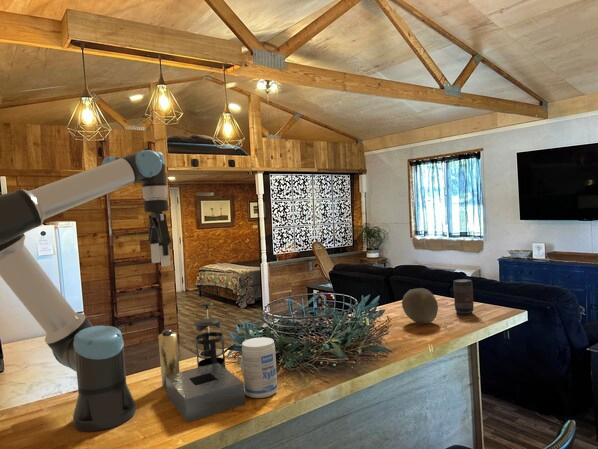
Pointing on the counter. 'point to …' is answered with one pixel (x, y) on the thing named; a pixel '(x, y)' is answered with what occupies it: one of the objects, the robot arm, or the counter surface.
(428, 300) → the cantaloupe
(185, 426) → the counter surface
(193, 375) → the housing
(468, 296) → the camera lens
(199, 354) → the french press
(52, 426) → the counter surface
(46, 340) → the robot arm
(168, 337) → the end plug
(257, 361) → the supplement tub
